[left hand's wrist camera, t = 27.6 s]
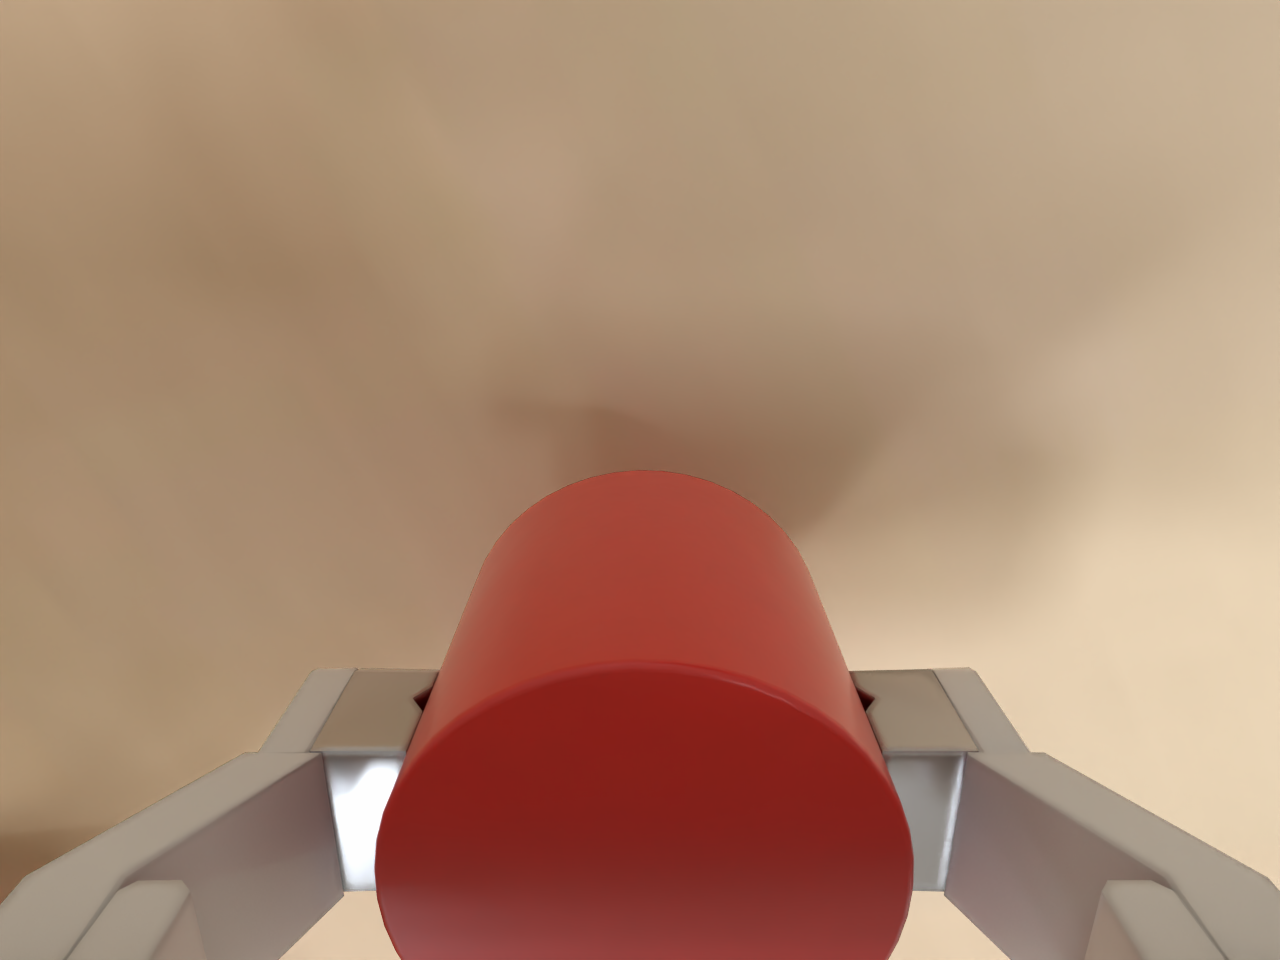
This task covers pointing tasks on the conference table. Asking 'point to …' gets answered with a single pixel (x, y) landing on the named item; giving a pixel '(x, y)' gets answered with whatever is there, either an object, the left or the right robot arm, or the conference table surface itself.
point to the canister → (644, 750)
